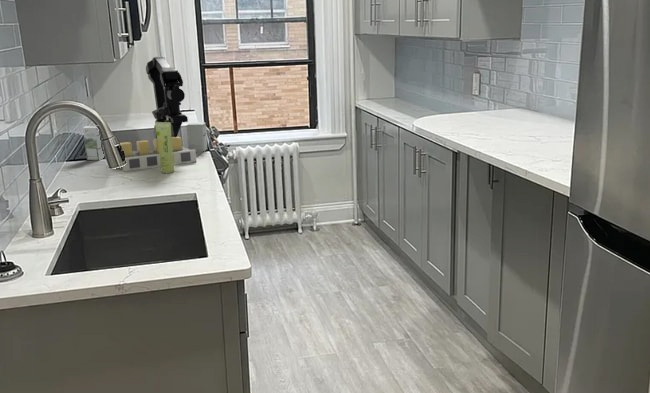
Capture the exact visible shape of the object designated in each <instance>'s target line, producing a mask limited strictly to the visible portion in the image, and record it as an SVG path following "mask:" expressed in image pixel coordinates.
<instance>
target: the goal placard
mask: <svg viewBox="0 0 650 393" xmlns="http://www.w3.org/2000/svg"><path fill="white" fill-rule="evenodd" d="M126 161H127V164H126V165H125V166H123V169H122V172H128V171H136V170H144V169H151V168H159V167H160V168H161V164H160V155H159V154H154V155H146V156H137V157H129V158H126ZM173 161H174V164H175V165H182V164H189V163H188V162H190V163H196V162H195V161H197V152H196V150H187V151H178V152H173ZM181 163H182V164H181Z"/></svg>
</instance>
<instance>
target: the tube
mask: <svg viewBox="0 0 650 393" xmlns="http://www.w3.org/2000/svg"><path fill="white" fill-rule="evenodd" d="M154 126H156V132H157V140H158V147H159V155H160V164H161V166H160V170H161V173H162V174H163V173H164V174H171V173H174V172H175V165H174V161H173V150H172V137H171V122H154Z"/></svg>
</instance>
